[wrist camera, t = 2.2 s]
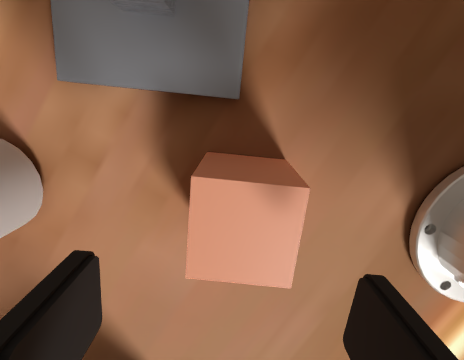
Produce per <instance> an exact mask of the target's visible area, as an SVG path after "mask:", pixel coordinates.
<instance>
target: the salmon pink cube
mask: <svg viewBox="0 0 464 360" xmlns="http://www.w3.org/2000/svg"><path fill="white" fill-rule="evenodd" d="M309 193H310V187H309V186H308V185H307V184H306V183H305V182H304V180H303V179H302V178H301V177H300V176H299V175H298V173H297V172H296V171H295V170H294V169H293V168H292V166H291V165H290V164H289V163H288V162H287V161H286V160H284V159H274V158H264V157H255V156H245V155H235V154H225V153H215V152H207V153H206V154H205V156H204V157H203V159H202V160H201V162H200V163H199V165H198V167H197V168H196V170H195V171H194V173H193V174H192V176H191V189H190V206H189V224H188V241H187V259H186V277H185V278H190V279H200V280H210V281H220V282H230V283H240V284H250V285H261V286H271V287H281V288H291V285H292V280H293V275H294V270H295V265H296V260H297V255H298V249H299V244H300V239H301V234H302V229H303V224H304V218H305V213H306V208H307V203H308V198H309Z"/></svg>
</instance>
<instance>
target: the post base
mask: <svg viewBox="0 0 464 360" xmlns="http://www.w3.org/2000/svg"><path fill="white" fill-rule="evenodd" d="M248 6H249V0H51V11H52V23H53V34H54V46H55V58H56V70H57V80H59V81H67V82H75V83H85V84H94V85H104V86H114V87H123V88H133V89H143V90H152V91H162V92H172V93H182V94H191V95H201V96H211V97H220V98H230V99H239V95H240V85H241V75H242V65H243V55H244V46H245V36H246V26H247V16H248Z"/></svg>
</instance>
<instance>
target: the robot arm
mask: <svg viewBox="0 0 464 360" xmlns="http://www.w3.org/2000/svg"><path fill="white" fill-rule="evenodd" d="M409 246H410V255H411V258H412V261H413V265H414V266H415V268H416V270H417V271H418V273H419V275H420V276H421V277H422V278H423V279H424V280H425V281H426V282H427V283H428V284H429V285H430V286H431V287H432V288H434V289H435V290H436V291H437V292H439V293H440V294H442V295H444V296H446V297H448V298H450V299H453V300H457V301H460V302H464V166H463V167H462V168H460V169H458V170H457V171H455V172H453V173H452V174H450V175H449V176H448V177H446V178H445V179H444V180H443V181H442V182H441V183H439V184H438V185H437V186H436V187H435V188H434V189H433V190H432V191H431V193H430V194H429V195H428V196H427V197H426V199H425V200H424V201H423V203H422V205H421V206H420V208H419V210H418V211H417V213H416V216H415V218H414V221H413V224H412V226H411V232H410V238H409ZM101 322H102V306H101V287H100V268H99V258H98V257H97V256H95V255H94V253H93V252H92V251H79V250H75V251H73V252H72V253H71V254H70V255H69V256H68V257H67V258H65V259H64V260H63V261H62V262H61V263H60V264H59V265H58V266H57V267H56V268H55V269H54V270H53V271H52V272H51V273H50V274H49V275H47V276H46V277H45V278H44V279H43V280H42V281H41V282H40V283H39V284H38V285H37V286H36V287H35V288H34V289H33V290H32V291H31V292H29V293H28V294H27V295H26V296H25V297H24V298H23V299H22V300H21V301H20V302H19V303H18V304H17V305H16V306H15V307H14V308H13V309H11V310H10V311H9V312H8V313H7V314H6V315H5V316H4V317H3V318H2V319H1V320H0V360H82V358H83V356H84V354H85V353H86V351H87V349H88V348H89V346H90V344H91V342H92V341H93V339H94V337H95V335H96V334H97V332H98V330H99V328H100V326H101ZM343 343H344V347H345V349H346V351H347V353H348V355H349V358H350V360H458V359H457V358H456V356H455V355H454V354H453V353H452V352H451V351H450V350H449V349H448V347H447V346H446V345H445V344H444V343H443V342H442V341H441V340H440V338H439V337H438V336H437V335H436V334H435V333H434V332H433V330H432V329H431V328H430V327H429V326H428V325H427V324H426V323H425V321H424V320H423V319H422V318H421V317H420V316H419V315H418V314H417V312H416V311H415V310H414V309H413V308H412V307H411V306H410V305H409V303H408V302H407V301H406V300H405V299H404V298H403V297H402V296H401V294H400V293H399V292H398V291H397V290H396V289H395V288H394V287H393V285H392V284H391V283H390V282H389V281H388V280H387V279H386V278H385V277H384V276H382V275H371V274H366V275H364V277H363V278H360V279H359V281H358V285H357V288H356V292H355V296H354V299H353V303H352V306H351V310H350V313H349V317H348V321H347V324H346V328H345V331H344V335H343Z"/></svg>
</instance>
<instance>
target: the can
mask: <svg viewBox="0 0 464 360" xmlns="http://www.w3.org/2000/svg"><path fill="white" fill-rule="evenodd" d="M42 198H43V187H42V183H41V179H40V175H39V174H38V172H37V170H36V168H35V167H34V165H33V163H32V161H31V160H30V159H29V158H28V157H27V156H26V155H25V154H24V153H23V152H22V151H21V150H20V149H19V148H17V147H15V146H14V145H12V144H10V143H9V142H7V141H5V140H3V139H0V238H2V237H3V236H5V235H7V234H9V233H11V232H12V231H14V230H16V229H18V228H19V227H21V226H23V225H25V224H26V223H28V222H29V221H30V220H31V219H32V218H34V217H35V216H36V215H37V213H38V211H39V209H40V207H41V205H42Z"/></svg>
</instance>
